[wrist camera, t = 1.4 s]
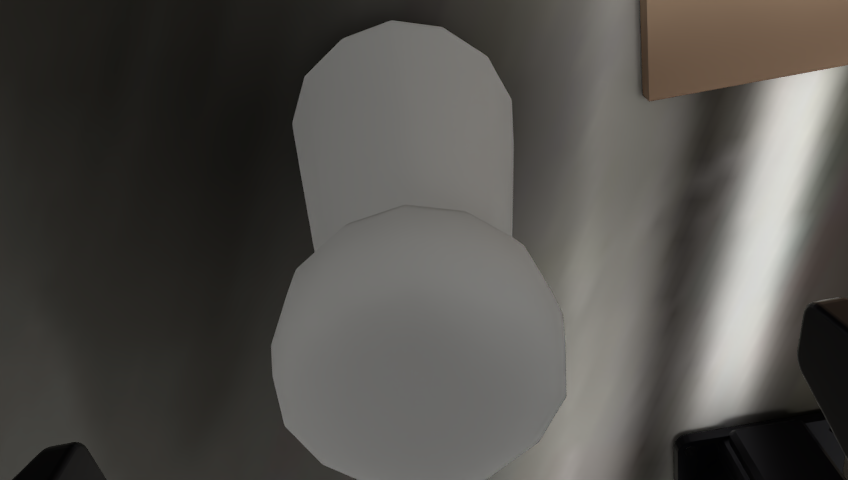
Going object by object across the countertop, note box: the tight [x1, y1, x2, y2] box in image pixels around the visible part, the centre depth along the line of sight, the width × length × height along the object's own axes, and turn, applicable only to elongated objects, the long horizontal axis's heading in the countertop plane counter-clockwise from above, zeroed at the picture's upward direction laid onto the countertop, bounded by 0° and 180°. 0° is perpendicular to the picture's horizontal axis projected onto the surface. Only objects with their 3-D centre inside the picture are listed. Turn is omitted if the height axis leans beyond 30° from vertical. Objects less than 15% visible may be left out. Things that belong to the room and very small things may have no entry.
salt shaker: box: [271, 20, 566, 480], centre depth 15 cm, size 6×6×13 cm
